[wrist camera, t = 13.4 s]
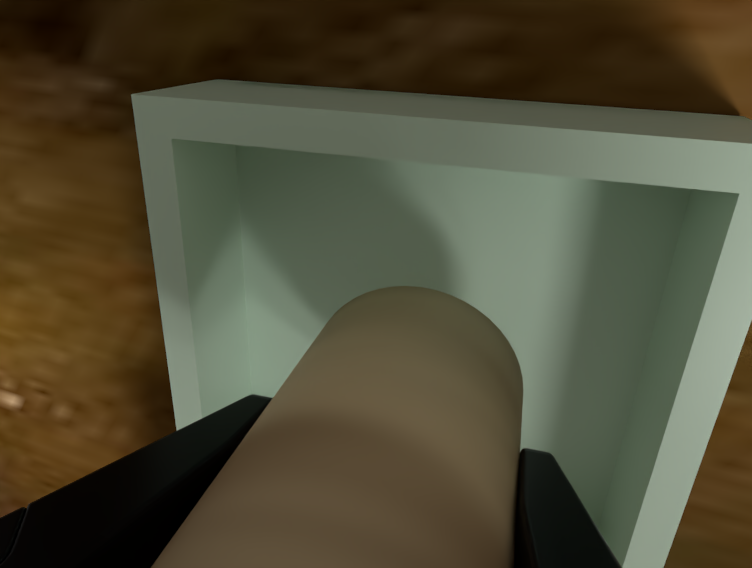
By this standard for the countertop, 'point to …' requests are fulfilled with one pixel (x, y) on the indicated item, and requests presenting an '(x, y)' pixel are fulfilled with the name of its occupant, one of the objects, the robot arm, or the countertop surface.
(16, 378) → the countertop surface
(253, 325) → the tray
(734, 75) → the countertop surface
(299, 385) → the oak dowel
